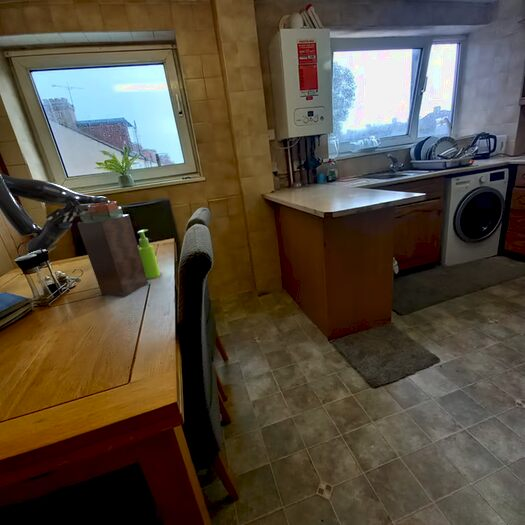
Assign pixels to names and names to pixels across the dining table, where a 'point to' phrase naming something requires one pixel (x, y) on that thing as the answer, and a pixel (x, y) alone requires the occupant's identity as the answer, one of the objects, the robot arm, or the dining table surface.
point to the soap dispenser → (148, 257)
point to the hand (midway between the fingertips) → (75, 202)
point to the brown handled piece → (97, 207)
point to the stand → (113, 252)
